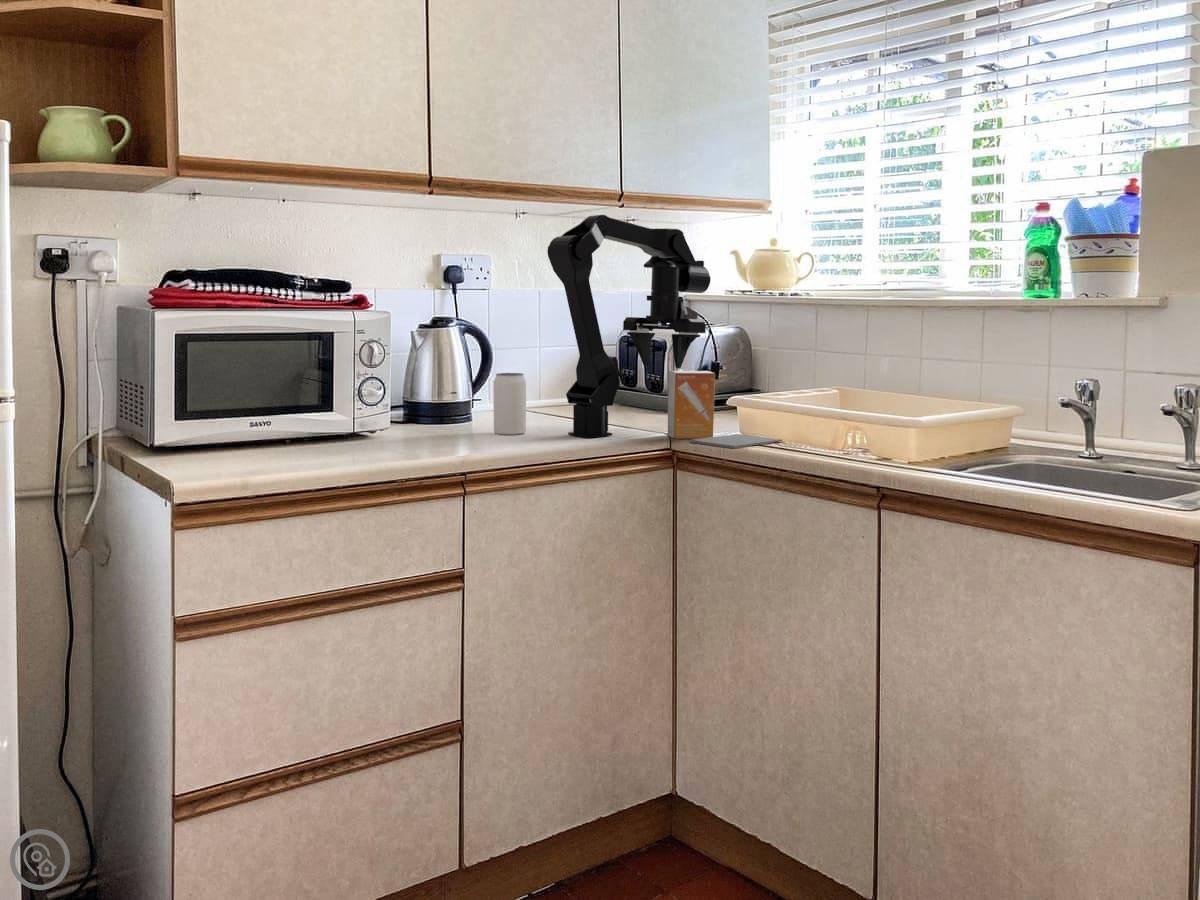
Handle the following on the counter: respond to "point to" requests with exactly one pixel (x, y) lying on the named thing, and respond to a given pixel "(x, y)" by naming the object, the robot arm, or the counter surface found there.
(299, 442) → the counter surface
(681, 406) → the small box
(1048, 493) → the counter surface
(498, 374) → the can
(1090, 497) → the counter surface
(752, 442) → the mat
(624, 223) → the robot arm
